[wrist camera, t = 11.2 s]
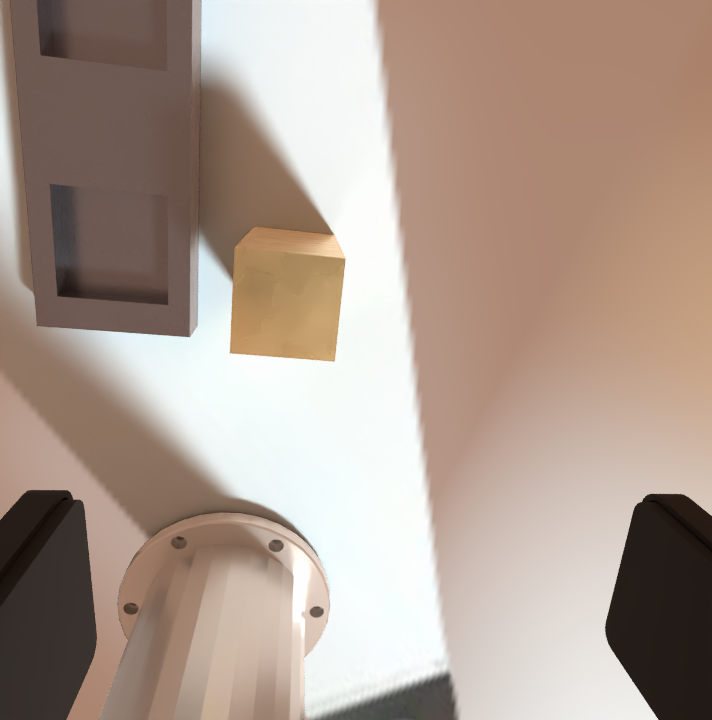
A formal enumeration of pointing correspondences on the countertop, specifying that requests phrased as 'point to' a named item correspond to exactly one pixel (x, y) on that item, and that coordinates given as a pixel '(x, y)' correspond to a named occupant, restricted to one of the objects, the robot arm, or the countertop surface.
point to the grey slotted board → (111, 160)
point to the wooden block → (286, 294)
